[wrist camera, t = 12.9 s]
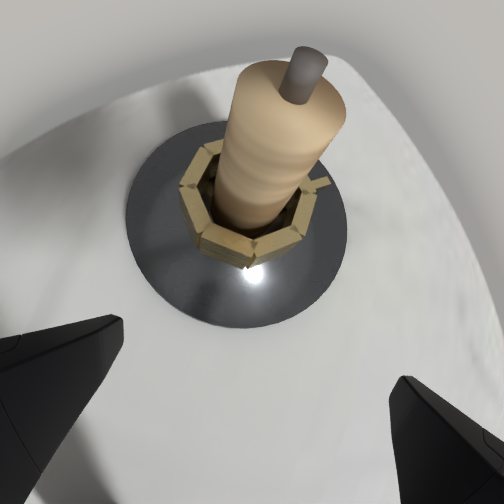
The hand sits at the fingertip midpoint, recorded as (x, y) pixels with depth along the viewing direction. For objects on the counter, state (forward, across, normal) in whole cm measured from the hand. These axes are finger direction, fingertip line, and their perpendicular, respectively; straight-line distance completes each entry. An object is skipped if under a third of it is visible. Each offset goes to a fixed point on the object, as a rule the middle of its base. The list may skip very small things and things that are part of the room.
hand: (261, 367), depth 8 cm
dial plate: (+14, +3, -2) cm, 14 cm away
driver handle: (+13, +3, -2) cm, 14 cm away
